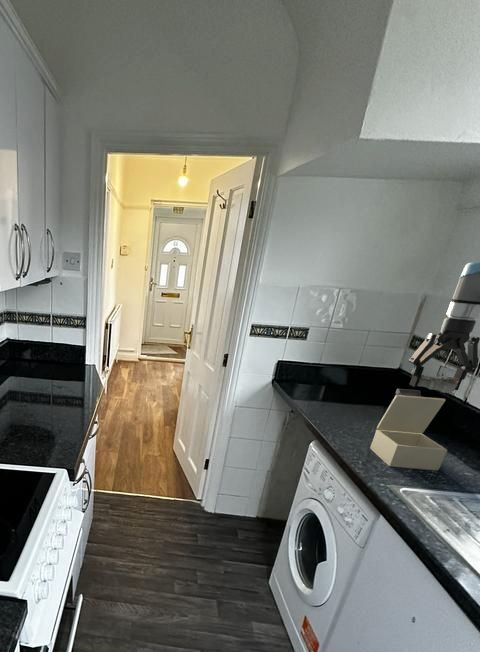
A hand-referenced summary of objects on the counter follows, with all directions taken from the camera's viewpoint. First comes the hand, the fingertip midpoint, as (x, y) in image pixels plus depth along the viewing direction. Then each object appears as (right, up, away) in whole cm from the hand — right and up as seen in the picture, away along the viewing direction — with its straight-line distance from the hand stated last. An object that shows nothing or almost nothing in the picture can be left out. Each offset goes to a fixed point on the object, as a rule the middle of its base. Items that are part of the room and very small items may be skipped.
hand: (433, 387), depth 132 cm
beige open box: (-1, -24, +13) cm, 27 cm away
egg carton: (0, 0, 0) cm, 0 cm away
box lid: (+1, -8, +11) cm, 14 cm away
